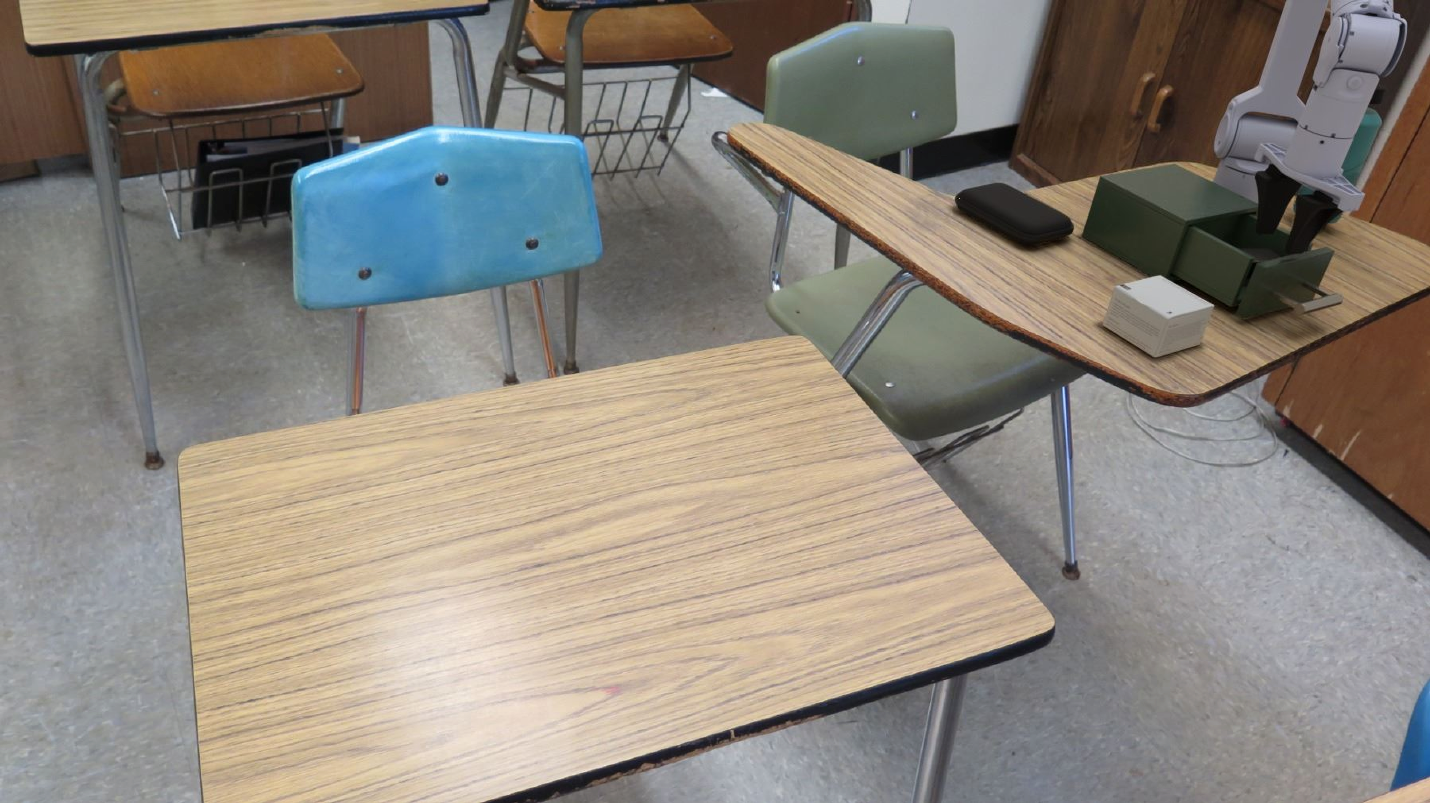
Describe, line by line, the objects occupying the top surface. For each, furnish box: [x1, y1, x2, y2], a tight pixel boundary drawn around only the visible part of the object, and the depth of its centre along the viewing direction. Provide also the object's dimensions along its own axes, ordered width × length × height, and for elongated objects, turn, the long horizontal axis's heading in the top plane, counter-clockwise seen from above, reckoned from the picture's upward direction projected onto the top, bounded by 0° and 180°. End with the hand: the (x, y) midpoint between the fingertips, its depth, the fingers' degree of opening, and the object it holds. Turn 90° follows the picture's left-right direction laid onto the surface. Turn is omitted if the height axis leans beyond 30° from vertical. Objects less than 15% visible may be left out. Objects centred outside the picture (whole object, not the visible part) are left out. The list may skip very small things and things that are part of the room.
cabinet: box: [1081, 163, 1258, 283], centre depth 137 cm, size 14×14×8 cm
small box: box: [1102, 275, 1215, 358], centre depth 119 cm, size 8×8×5 cm
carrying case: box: [954, 182, 1075, 248], centre depth 142 cm, size 11×3×15 cm
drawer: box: [1171, 213, 1344, 320], centre depth 128 cm, size 18×13×7 cm
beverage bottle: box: [1292, 83, 1387, 225], centre depth 146 cm, size 6×7×20 cm
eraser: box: [1237, 248, 1281, 286], centre depth 129 cm, size 8×4×3 cm, turn 101°
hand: (1278, 242), depth 125 cm, fingers open, 4 cm apart
